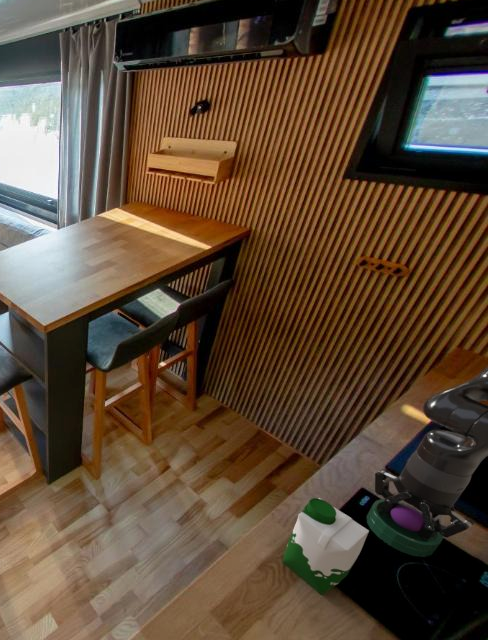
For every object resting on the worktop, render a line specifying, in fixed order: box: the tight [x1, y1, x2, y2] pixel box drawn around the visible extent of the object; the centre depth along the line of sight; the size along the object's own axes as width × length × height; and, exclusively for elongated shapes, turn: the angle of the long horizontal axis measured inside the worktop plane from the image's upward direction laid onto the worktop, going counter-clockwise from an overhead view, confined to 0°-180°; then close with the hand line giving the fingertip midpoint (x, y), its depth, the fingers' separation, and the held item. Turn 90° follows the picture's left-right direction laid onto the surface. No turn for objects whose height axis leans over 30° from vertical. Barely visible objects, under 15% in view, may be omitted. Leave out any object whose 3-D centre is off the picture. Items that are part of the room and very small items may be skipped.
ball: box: [391, 505, 425, 531], centre depth 81 cm, size 5×5×5 cm
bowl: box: [366, 498, 444, 558], centre depth 82 cm, size 10×10×6 cm
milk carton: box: [282, 497, 370, 596], centre depth 76 cm, size 9×9×20 cm
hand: (404, 523), depth 82 cm, fingers closed on ball, 5 cm apart
